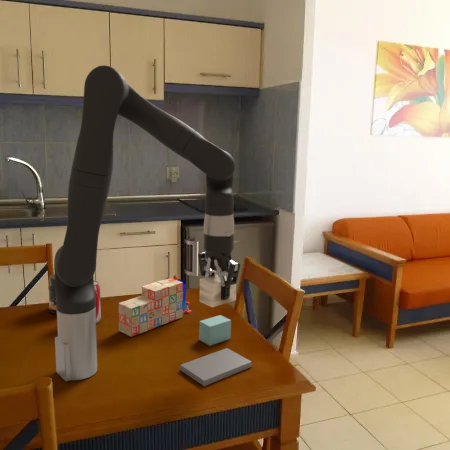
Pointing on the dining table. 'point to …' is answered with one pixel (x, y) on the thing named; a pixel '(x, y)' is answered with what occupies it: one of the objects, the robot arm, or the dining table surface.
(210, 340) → the teal brick
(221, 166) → the robot arm
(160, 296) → the stack of blocks
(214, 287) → the cream brick
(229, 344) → the dining table surface
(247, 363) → the baseplate
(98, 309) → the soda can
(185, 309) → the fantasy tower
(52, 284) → the supplement container
